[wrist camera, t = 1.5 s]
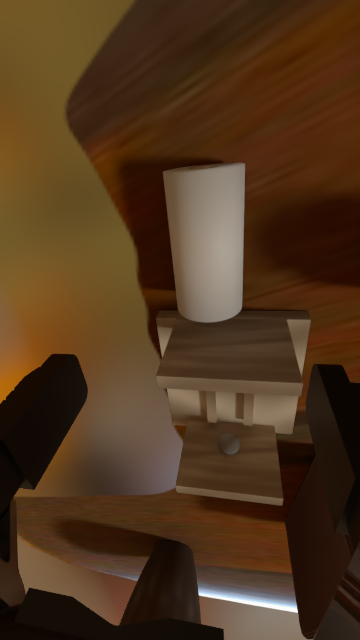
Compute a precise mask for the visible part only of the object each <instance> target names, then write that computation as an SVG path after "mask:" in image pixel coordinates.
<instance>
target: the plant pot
mask: <svg viewBox="0 0 360 640" xmlns="http://www.w3.org/2000/svg"><path fill="white" fill-rule="evenodd" d="M166 618H174V619H179V620H183V621H188V622H193V623H197V624H201V618H200V605H199V595H198V586H197V578H196V571H195V564H194V558H193V553H192V551H191V549H190V548H188V547H187V546H185V545H183V544H181V543H178V542H174V541H160V542H159V543H157V545H156V547H155V548H154V550H153V552H152V554H151V555H150V557H149V559H148V561H147V563H146V565H145V567H144V569H143V571H142V573H141V575H140V577H139V579H138V581H137V584H136V586H135V588H134V590H133V593H132V595H131V597H130V600H129V602H128V604H127V607H126V609H125V612H124V614H123V617H122V619H121V623H120V625H119V626H122V625H128V624H134V623H141V622H147V621H153V620H160V619H166Z"/></svg>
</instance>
